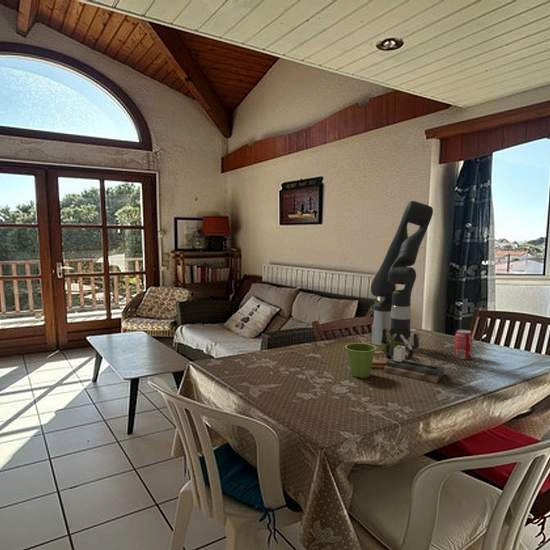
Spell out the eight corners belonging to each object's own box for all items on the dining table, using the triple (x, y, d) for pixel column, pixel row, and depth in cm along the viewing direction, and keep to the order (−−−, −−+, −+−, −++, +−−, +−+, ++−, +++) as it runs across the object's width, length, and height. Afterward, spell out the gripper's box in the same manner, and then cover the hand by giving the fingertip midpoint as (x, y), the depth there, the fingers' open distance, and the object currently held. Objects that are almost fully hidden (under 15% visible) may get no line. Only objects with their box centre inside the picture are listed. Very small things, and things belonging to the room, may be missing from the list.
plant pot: (355, 368, 162) (356, 341, 161) (381, 375, 153) (382, 346, 152) (338, 375, 153) (338, 346, 152) (364, 383, 145) (365, 353, 144)
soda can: (467, 355, 179) (469, 329, 177) (474, 360, 172) (475, 333, 170) (451, 355, 179) (452, 329, 178) (457, 359, 172) (458, 332, 171)
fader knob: (393, 365, 158) (393, 347, 157) (397, 362, 162) (398, 344, 161) (400, 366, 156) (401, 348, 155) (404, 363, 160) (405, 346, 159)
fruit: (396, 351, 185) (397, 330, 184) (413, 359, 173) (414, 337, 172) (374, 354, 181) (375, 332, 180) (390, 362, 169) (391, 339, 168)
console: (383, 372, 157) (383, 362, 156) (394, 364, 166) (394, 355, 166) (435, 383, 145) (436, 373, 144) (444, 374, 154) (445, 364, 154)
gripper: (379, 316, 158) (378, 355, 160) (415, 320, 150) (414, 362, 151) (386, 313, 164) (385, 351, 166) (421, 317, 156) (420, 357, 157)
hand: (399, 356), depth 159 cm, fingers open, 8 cm apart
